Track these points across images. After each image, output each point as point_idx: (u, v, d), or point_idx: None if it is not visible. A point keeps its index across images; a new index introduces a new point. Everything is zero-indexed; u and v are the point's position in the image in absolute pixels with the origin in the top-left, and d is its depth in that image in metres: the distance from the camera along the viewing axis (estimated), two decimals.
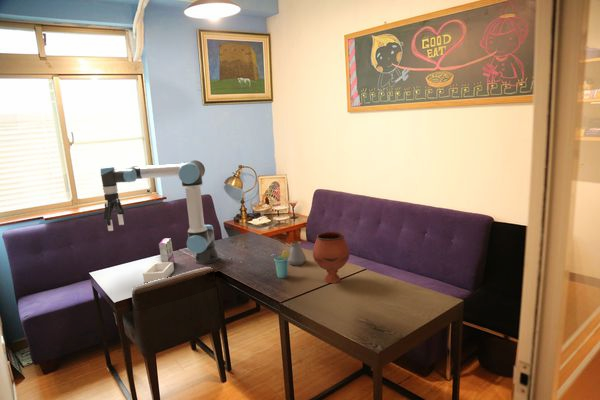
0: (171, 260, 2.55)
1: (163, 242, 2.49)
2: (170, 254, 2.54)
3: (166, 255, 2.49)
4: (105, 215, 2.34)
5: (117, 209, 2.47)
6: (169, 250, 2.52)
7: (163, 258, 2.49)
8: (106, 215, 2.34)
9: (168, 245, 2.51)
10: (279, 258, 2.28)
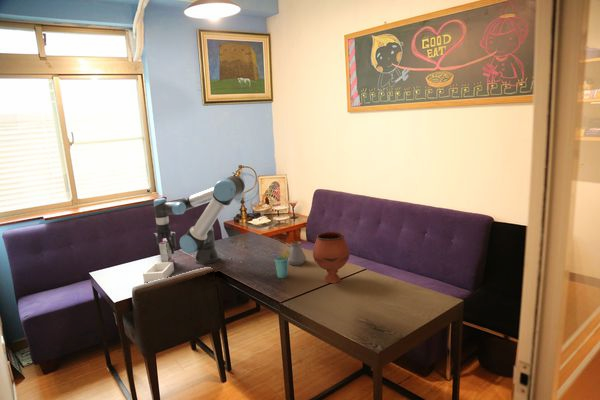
0: (171, 260, 2.55)
1: (163, 242, 2.49)
2: None
3: (166, 255, 2.49)
4: None
5: None
6: (169, 250, 2.52)
7: (163, 258, 2.49)
8: None
9: (168, 245, 2.51)
10: (279, 258, 2.28)
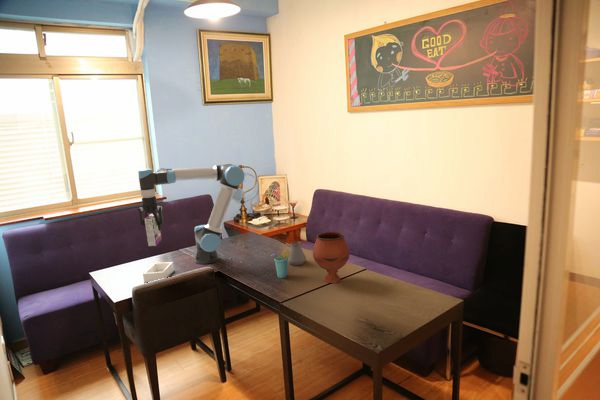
0: (158, 237, 2.33)
1: (149, 217, 2.28)
2: None
3: (152, 231, 2.27)
4: None
5: None
6: None
7: (149, 235, 2.28)
8: None
9: (155, 220, 2.29)
10: (279, 258, 2.28)
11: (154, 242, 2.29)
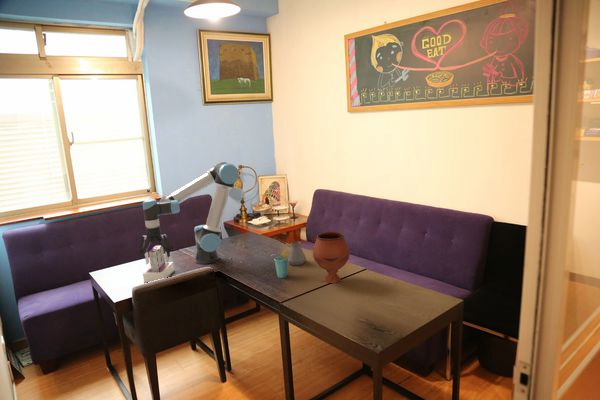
0: (162, 269, 2.37)
1: (153, 250, 2.32)
2: (161, 263, 2.36)
3: (156, 264, 2.31)
4: None
5: None
6: (160, 258, 2.34)
7: (153, 268, 2.31)
8: None
9: (159, 253, 2.33)
10: (279, 258, 2.28)
11: None
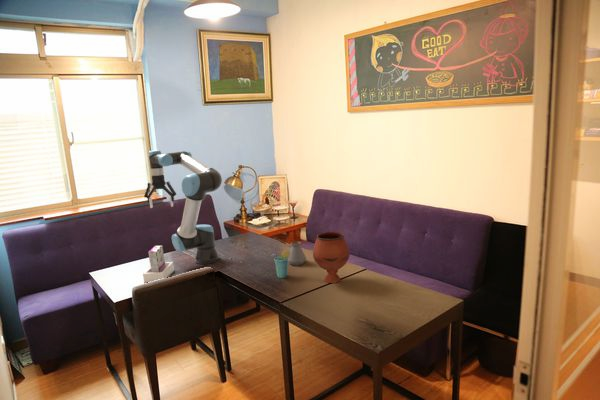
0: (162, 269, 2.37)
1: (153, 250, 2.32)
2: (161, 263, 2.36)
3: (156, 264, 2.31)
4: None
5: None
6: (160, 259, 2.34)
7: (153, 268, 2.31)
8: None
9: (158, 253, 2.33)
10: (279, 258, 2.28)
11: None
